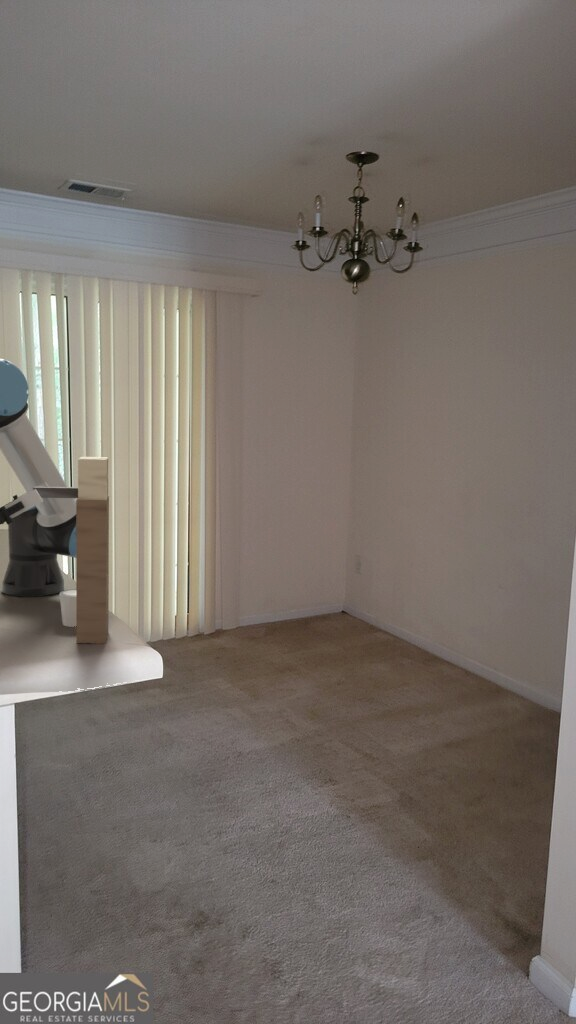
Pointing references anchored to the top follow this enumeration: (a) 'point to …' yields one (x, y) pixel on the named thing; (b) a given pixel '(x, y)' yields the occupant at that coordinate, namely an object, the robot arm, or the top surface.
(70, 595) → the white cup
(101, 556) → the brown wooden tall block
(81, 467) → the beige wooden block
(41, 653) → the top surface
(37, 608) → the top surface
